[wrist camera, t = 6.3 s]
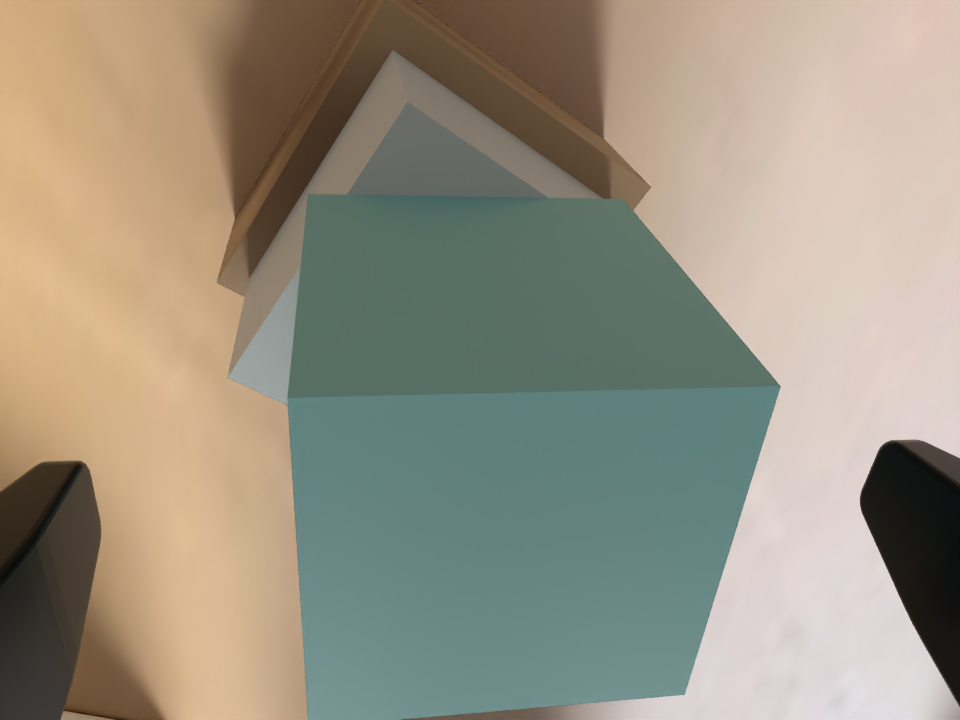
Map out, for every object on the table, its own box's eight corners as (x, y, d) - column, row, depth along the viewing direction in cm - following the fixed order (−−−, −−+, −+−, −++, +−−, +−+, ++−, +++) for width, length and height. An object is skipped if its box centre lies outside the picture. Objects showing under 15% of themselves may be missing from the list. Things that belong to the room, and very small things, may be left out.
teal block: (581, 445, 14) (684, 695, 10) (318, 454, 13) (308, 727, 9) (623, 198, 12) (780, 386, 8) (307, 194, 11) (287, 397, 7)
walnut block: (454, 332, 21) (474, 410, 18) (236, 214, 18) (216, 282, 15) (600, 135, 18) (651, 187, 16) (376, -28, 16) (385, -4, 13)
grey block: (462, 390, 17) (487, 498, 14) (248, 278, 15) (226, 377, 12) (610, 203, 16) (674, 283, 13) (392, 49, 14) (407, 101, 11)
